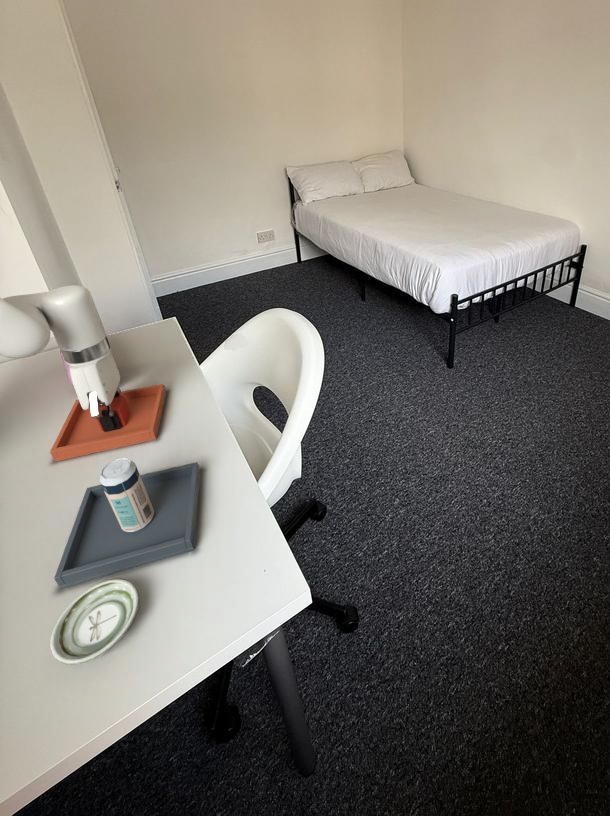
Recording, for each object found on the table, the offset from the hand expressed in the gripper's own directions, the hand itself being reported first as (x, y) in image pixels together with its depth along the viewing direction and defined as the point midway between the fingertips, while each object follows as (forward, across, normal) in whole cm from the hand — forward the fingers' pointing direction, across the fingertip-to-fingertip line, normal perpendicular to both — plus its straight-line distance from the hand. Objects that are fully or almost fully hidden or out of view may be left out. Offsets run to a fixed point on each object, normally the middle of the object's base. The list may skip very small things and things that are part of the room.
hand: (115, 419), depth 88 cm
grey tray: (+1, +27, +9) cm, 28 cm away
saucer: (+1, +42, +7) cm, 43 cm away
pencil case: (+1, -20, -9) cm, 22 cm away
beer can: (0, +27, +9) cm, 28 cm away
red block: (0, 0, 0) cm, 0 cm away
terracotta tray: (+1, 0, 0) cm, 1 cm away
